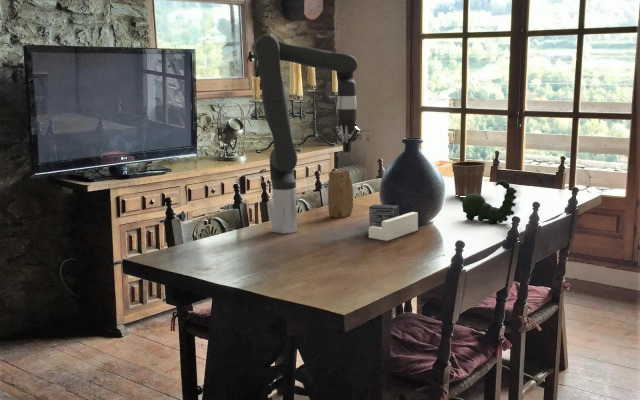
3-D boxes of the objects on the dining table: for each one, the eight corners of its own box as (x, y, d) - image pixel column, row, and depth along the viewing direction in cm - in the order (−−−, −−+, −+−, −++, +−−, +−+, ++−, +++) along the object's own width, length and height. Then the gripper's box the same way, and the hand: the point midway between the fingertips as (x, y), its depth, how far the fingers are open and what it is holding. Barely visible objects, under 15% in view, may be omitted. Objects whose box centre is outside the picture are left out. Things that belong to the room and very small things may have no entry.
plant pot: (451, 199, 329) (451, 165, 326) (450, 193, 345) (450, 161, 342) (485, 199, 327) (486, 165, 324) (483, 193, 342) (484, 161, 339)
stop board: (387, 240, 253) (387, 222, 251) (368, 237, 258) (368, 219, 257) (417, 230, 268) (417, 212, 267) (399, 227, 273) (399, 210, 272)
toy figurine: (516, 227, 277) (461, 214, 293) (521, 181, 272) (466, 170, 288) (504, 231, 270) (450, 217, 286) (510, 184, 265) (454, 173, 281)
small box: (399, 231, 267) (399, 204, 265) (395, 235, 261) (395, 208, 259) (373, 229, 271) (373, 203, 269) (368, 233, 265) (368, 206, 263)
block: (340, 219, 291) (339, 172, 287) (326, 216, 296) (325, 170, 292) (355, 214, 299) (355, 169, 295) (342, 212, 304) (341, 167, 300)
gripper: (327, 107, 268) (327, 152, 271) (354, 108, 259) (354, 154, 262) (339, 107, 273) (339, 150, 276) (366, 107, 265) (366, 152, 268)
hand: (346, 152), depth 269 cm, fingers closed
